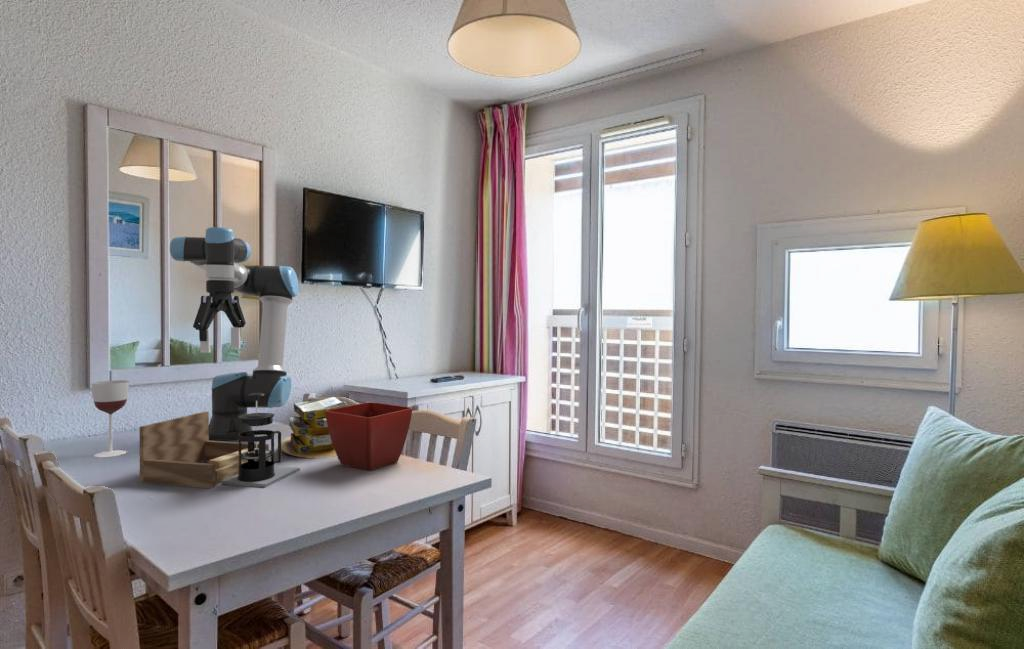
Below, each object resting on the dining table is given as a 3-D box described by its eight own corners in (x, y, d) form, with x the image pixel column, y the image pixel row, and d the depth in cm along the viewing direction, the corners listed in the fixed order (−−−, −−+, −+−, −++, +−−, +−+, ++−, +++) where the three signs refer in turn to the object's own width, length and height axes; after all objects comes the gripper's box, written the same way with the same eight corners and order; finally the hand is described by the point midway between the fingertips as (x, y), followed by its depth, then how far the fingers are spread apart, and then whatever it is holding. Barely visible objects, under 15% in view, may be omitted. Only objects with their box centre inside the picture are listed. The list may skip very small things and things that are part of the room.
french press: (241, 484, 147) (241, 397, 146) (230, 476, 154) (230, 393, 153) (286, 476, 155) (286, 393, 154) (273, 468, 162) (274, 389, 161)
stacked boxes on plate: (363, 453, 183) (363, 403, 183) (281, 461, 173) (281, 407, 173) (352, 438, 206) (352, 392, 205) (279, 443, 196) (279, 396, 195)
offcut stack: (247, 466, 168) (247, 446, 167) (261, 467, 167) (261, 447, 166) (201, 484, 150) (201, 462, 150) (216, 486, 149) (216, 463, 149)
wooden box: (205, 459, 174) (205, 411, 174) (268, 464, 170) (268, 414, 169) (139, 482, 151) (139, 426, 150) (211, 488, 146) (211, 431, 146)
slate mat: (260, 467, 166) (260, 464, 166) (299, 470, 163) (299, 467, 163) (221, 483, 150) (221, 480, 150) (265, 487, 147) (265, 484, 147)
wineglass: (84, 455, 177) (84, 383, 176) (117, 448, 186) (117, 379, 186) (103, 458, 173) (103, 384, 173) (136, 451, 183) (135, 381, 182)
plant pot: (368, 476, 159) (368, 416, 158) (323, 465, 169) (323, 410, 168) (413, 461, 175) (414, 407, 174) (370, 452, 185) (370, 401, 185)
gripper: (235, 280, 181) (236, 346, 182) (177, 278, 156) (179, 354, 157) (257, 281, 179) (257, 346, 181) (202, 278, 155) (203, 354, 156)
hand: (221, 350), depth 169 cm, fingers open, 13 cm apart
